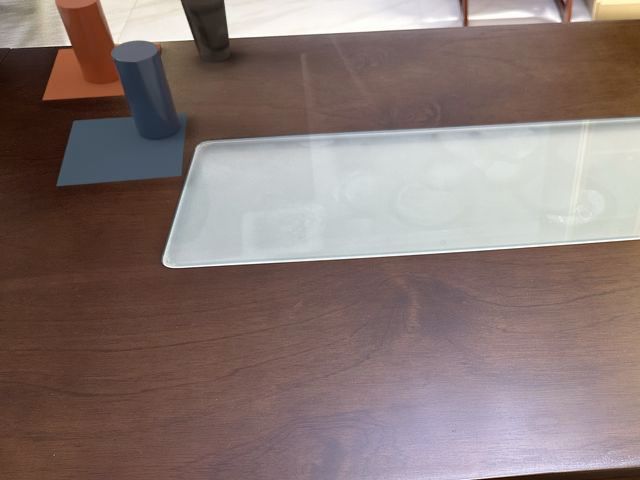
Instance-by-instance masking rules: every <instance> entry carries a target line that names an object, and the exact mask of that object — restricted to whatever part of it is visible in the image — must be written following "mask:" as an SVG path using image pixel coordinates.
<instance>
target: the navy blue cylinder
mask: <svg viewBox="0 0 640 480" xmlns="http://www.w3.org/2000/svg"><path fill="white" fill-rule="evenodd" d="M155 44H156V43H154V42H151V41H149V40H141V39H138V40H130V41H125V42H122V43H120V44H118V45H115V46H116V47H115V48H114V49H113V50H112V52H111V56H112V59H113V62H114V64H115V67H116V70H117V73H118V76H119V79H120V82H121V85H122V88H123V91H124V94H125V95H124V96H125V100H126V102H127V105H128V108H129V112H130V114H131V117H133V120H134V123H135V126H136V128H137V131H138V134H139V135H140V136H142V137H143V138H146V139H152V140H158V139H164V138H168V137H170V136H172V135H174V134H176V133H177V132H178V131H179V129H180V122H179V119H178V115H177V114H178V112H177V109H176V105H175V102H174V98H173V95H172V92H171V87H170V84H169V81H168V78H167V74H166V70H165V67H164V63H163V61H162V57H161V52H160V53H159V50H158V47H157V46H156V45H155Z"/></svg>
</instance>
